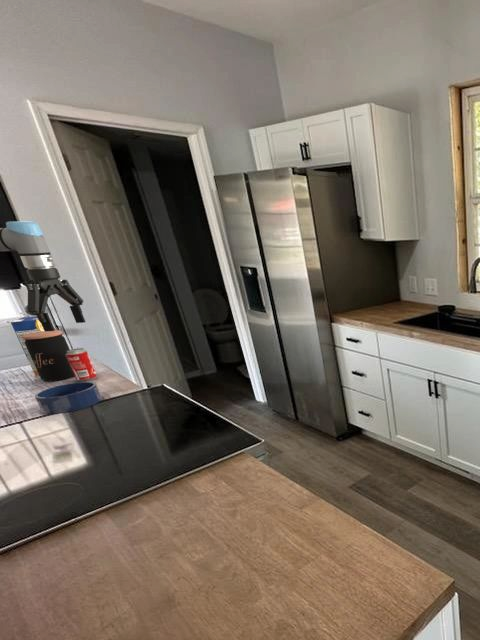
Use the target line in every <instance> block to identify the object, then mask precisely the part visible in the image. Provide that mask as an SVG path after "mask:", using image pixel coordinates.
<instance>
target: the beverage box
mask: <svg viewBox="0 0 480 640" xmlns="http://www.w3.org/2000/svg"><path fill="white" fill-rule="evenodd" d="M10 324H11V326H12V328H13V331H14V333H15V335H16V338H17V340H18V342H19V344H20V346H21V348H22V350H23V353H24V354H25V356H26V359H27V361H28V363H29V365H30V368H31V370H32V372H33V374H34V376H35V377H40V376H39V374H38V371H37V369H36V367H35V365H34V363H33V360H32V358H31V356H30V354H29V352H28V350H27V347H26V345H25V340H24V339H23V338H22V336H23V335H25V334H29V333H34V332H41V331H44V329H43V326H42V324H41V323H40V322H39V320H38V318H37V315H34V316H22V317H19V318H18V319H15V320H12V321H10Z"/></svg>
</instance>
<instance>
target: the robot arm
mask: <svg viewBox="0 0 480 640" xmlns="http://www.w3.org/2000/svg"><path fill="white" fill-rule="evenodd" d="M5 226H6V227H0V252H17V253H18V254H19V257H20V260H21V262H22V264H23V266H24V268H25V269H26V273H27V275H28V278H29V280H30V281H33V282H34V283H27V284H25V287H26V290H27V313H29V314H33V315H34V314H35V316H37V318H38V320H39V322H40V323H41V324H42V326H43V329H44V331H55V330H56V329H55V327H54V325H53V323H52V319H51V318H50V315H49V313H48V312H45V311H46V308H47V305H48V301H49V298H50V297H51V296H54V295H57V296H58V297H60V298H61V299H63V300H64V301H65V302H67V303H68V304H69V309H70V311H71V314H72V316H73V318H74V321H75V323H76V324H82V323H86V319H85V316H84V314H83V310H82V308H81V306H83V303H84V300H83V298H82V297H81V296H80V295H79V294H78V293H77V291H76V290H75V289H74V288H73V287H72V286H71V285H70V283H69V280H68V279H60V278H61V275H60V273H59V270H58V268H56V263H55V261H54V258H53V256H52V253H51V252H50V249H49V246H48V243H47V240H46V238H45V235H44V233H43V230H42V229H41V227H40V225H39V224H38V223H37V222H36V221H29V220H28V221H27V220H26V221H25V220H24V221H22V220H20V221H18V220H17V221H16V220H15V221H6V222H5Z"/></svg>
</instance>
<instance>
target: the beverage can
mask: <svg viewBox="0 0 480 640" xmlns="http://www.w3.org/2000/svg"><path fill="white" fill-rule="evenodd" d="M88 353H89V352H88V350H86V349H84V348H82V347H79V348H77V347H76V348H71V349H70V350H68V351H67V353H66V357H67V359H68V361H69V364H70V366H71V368H72V371H73V373H74V375H75V377H74V378H75V380H76V381H78V382H90V381H92V380H95V379H97V376H98V374H97V372H96V369H95V367H94V365H93V363H92V361H91V358H90V356H89V354H88Z"/></svg>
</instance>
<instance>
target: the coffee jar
mask: <svg viewBox="0 0 480 640" xmlns="http://www.w3.org/2000/svg"><path fill="white" fill-rule="evenodd" d="M22 338H23V339H24V340H25V345H26V347H27V350H28V352H29V354H30V356H31V358H32V360H33V363H34V365H35V367H36V369H37V371H38V374H39V376H38V377H39V379H40V380H41V381H43V382H46V383H51V382H52V383H53V382H61V381H67V380H70V379H73V378H75V375H74V373H73V371H72V368H71V366H70V364H69V361H68V359H67V357H66V353H67V351H68V350H71V349H70V348H69V345H68V342H67V340H66V338H65V336H63V330H59V329H55V331H41V332H34V333H29V334H25V335H23V336H22Z"/></svg>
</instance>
